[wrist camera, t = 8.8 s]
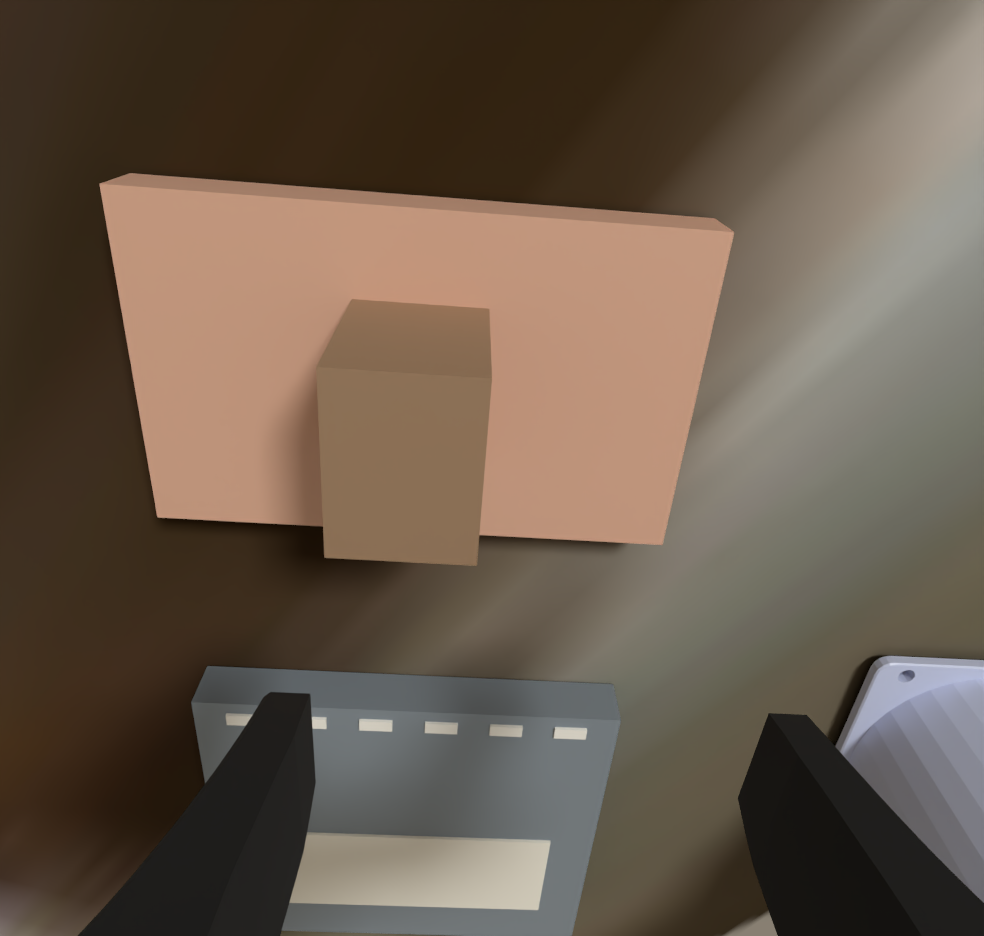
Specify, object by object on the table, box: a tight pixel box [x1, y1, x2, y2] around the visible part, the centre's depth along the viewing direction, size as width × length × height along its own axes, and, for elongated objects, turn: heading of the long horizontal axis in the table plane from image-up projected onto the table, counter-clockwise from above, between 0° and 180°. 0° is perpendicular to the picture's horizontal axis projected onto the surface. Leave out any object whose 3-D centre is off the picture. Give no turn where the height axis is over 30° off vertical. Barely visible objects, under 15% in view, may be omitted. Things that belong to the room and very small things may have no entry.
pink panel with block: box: [100, 173, 734, 566], centre depth 16 cm, size 13×8×6 cm, turn 86°
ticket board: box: [191, 666, 621, 936], centre depth 26 cm, size 13×12×2 cm
